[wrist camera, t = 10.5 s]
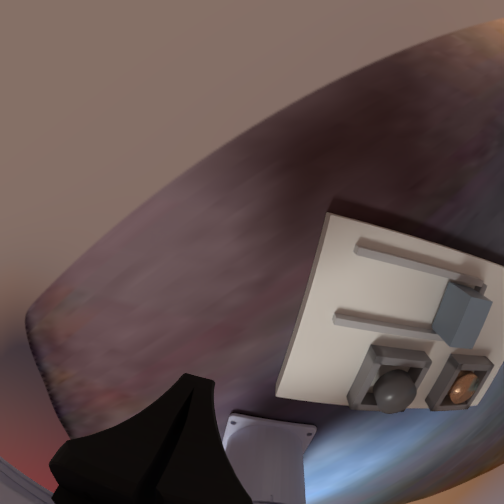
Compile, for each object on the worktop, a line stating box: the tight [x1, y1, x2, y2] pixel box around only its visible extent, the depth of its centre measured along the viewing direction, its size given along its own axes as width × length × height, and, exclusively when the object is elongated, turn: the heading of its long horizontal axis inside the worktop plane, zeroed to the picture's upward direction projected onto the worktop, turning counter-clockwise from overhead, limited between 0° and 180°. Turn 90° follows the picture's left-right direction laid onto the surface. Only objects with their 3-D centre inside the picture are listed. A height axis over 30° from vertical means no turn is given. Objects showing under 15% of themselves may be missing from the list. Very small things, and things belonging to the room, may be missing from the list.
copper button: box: [447, 370, 479, 404], centre depth 19 cm, size 3×3×2 cm
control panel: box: [275, 212, 504, 412], centre depth 19 cm, size 14×22×3 cm, turn 78°
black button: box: [373, 369, 417, 414], centre depth 18 cm, size 3×3×2 cm
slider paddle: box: [431, 282, 493, 349], centre depth 16 cm, size 4×2×3 cm, turn 168°
